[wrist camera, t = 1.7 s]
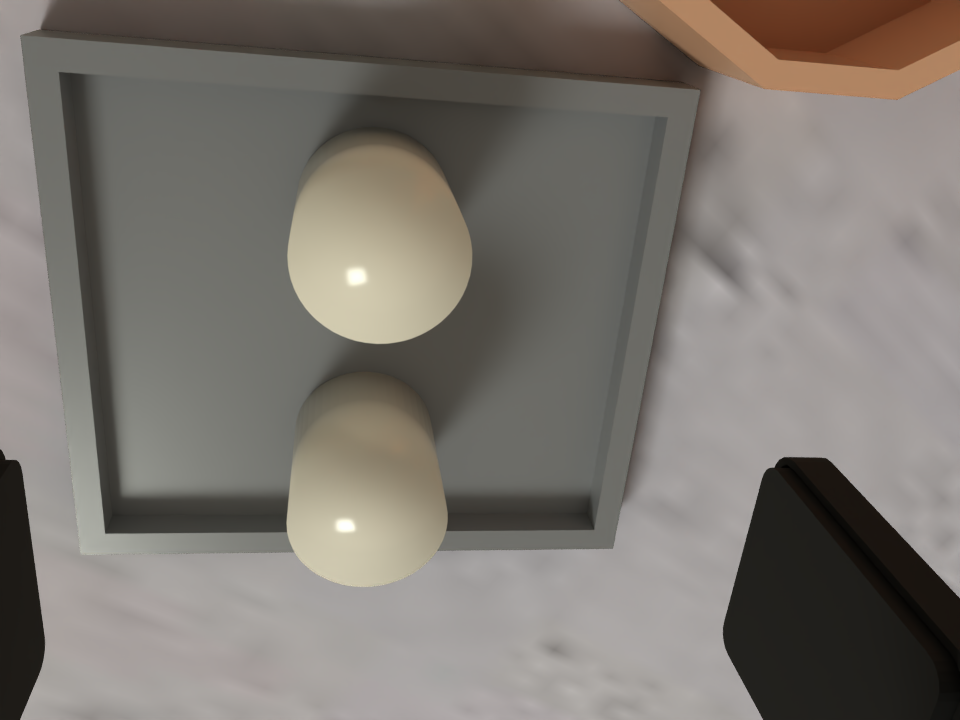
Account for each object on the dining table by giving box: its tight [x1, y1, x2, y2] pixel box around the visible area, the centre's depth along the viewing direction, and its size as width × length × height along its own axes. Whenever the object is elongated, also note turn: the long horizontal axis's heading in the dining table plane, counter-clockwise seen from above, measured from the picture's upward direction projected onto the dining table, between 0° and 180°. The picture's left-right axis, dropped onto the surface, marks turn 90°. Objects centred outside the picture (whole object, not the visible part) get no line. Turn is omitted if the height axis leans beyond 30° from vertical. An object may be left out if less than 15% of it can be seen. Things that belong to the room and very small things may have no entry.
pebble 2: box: [286, 372, 448, 587], centre depth 27 cm, size 4×4×5 cm
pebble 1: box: [287, 127, 472, 344], centre depth 23 cm, size 4×4×5 cm
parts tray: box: [20, 30, 701, 555], centre depth 27 cm, size 16×18×2 cm
